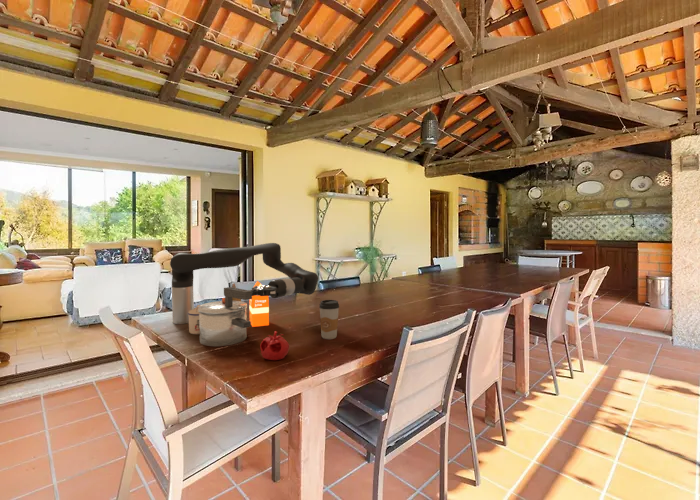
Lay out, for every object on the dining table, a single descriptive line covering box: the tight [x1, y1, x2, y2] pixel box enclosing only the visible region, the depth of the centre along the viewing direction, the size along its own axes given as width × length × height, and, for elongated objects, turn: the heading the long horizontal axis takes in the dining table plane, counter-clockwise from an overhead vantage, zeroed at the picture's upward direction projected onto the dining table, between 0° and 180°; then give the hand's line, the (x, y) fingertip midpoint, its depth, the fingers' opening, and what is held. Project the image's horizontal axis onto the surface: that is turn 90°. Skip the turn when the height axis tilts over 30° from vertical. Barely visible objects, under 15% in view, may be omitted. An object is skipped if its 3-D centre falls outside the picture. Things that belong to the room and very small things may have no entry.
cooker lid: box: [198, 286, 252, 315], centre depth 138 cm, size 26×19×9 cm
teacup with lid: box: [188, 304, 201, 335], centre depth 152 cm, size 12×9×12 cm
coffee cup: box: [318, 299, 340, 340], centre depth 144 cm, size 8×8×15 cm
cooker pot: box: [199, 309, 252, 347], centre depth 139 cm, size 26×18×12 cm
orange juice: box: [248, 280, 270, 328], centre depth 164 cm, size 8×9×20 cm
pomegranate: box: [259, 330, 290, 361], centre depth 122 cm, size 10×10×9 cm
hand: (246, 293), depth 134 cm, fingers closed
